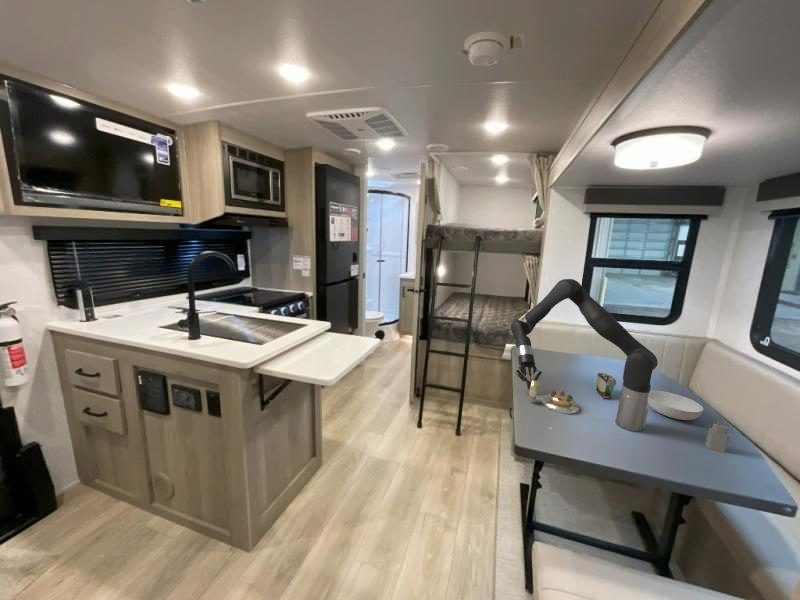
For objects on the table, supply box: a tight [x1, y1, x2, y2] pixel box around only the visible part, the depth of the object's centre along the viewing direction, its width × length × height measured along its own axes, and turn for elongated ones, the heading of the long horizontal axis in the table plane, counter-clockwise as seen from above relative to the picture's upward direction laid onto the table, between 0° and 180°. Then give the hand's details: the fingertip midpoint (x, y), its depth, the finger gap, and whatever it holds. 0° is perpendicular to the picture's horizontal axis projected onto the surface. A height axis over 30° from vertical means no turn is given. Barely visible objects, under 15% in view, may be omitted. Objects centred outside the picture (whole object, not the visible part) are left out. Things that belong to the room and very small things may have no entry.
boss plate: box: [540, 393, 580, 415], centre depth 153 cm, size 16×16×2 cm
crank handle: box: [528, 380, 574, 407], centre depth 152 cm, size 20×10×9 cm, turn 86°
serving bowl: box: [647, 389, 705, 421], centre depth 151 cm, size 21×21×7 cm
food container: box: [595, 372, 617, 400], centre depth 166 cm, size 12×6×10 cm, turn 168°
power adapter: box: [704, 419, 731, 453], centre depth 125 cm, size 3×5×12 cm, turn 60°
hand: (531, 389), depth 155 cm, fingers closed
